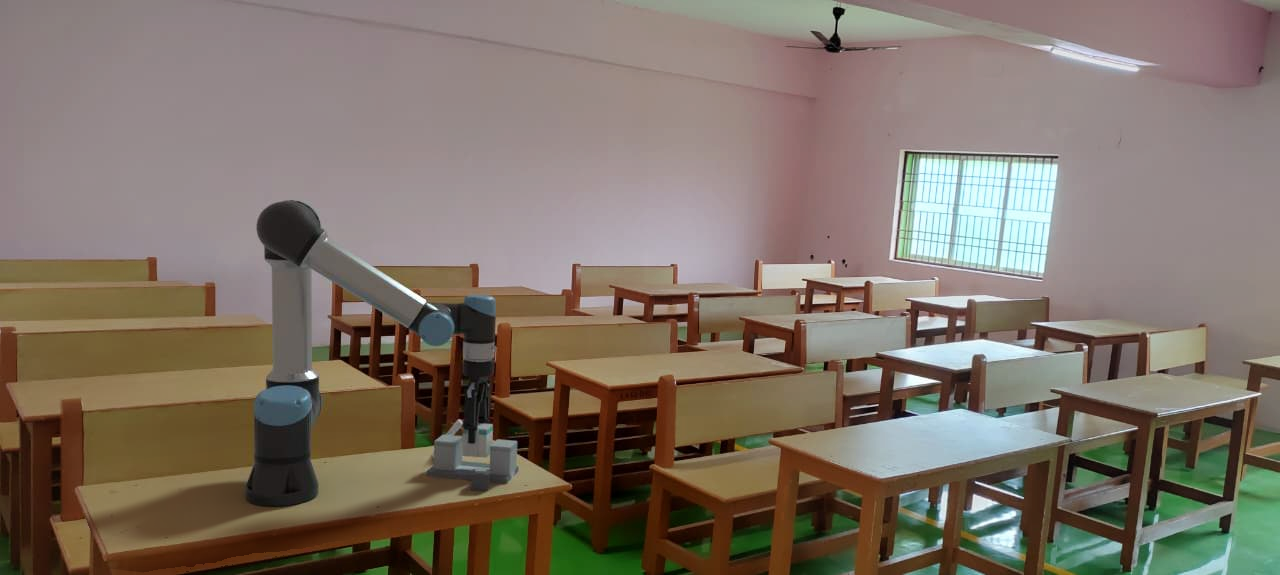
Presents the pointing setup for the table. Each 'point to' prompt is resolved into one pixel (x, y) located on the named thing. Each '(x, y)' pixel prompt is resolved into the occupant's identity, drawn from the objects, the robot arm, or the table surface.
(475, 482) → the block
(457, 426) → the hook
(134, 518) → the table surface
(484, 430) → the block
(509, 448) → the rail board
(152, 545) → the table surface
